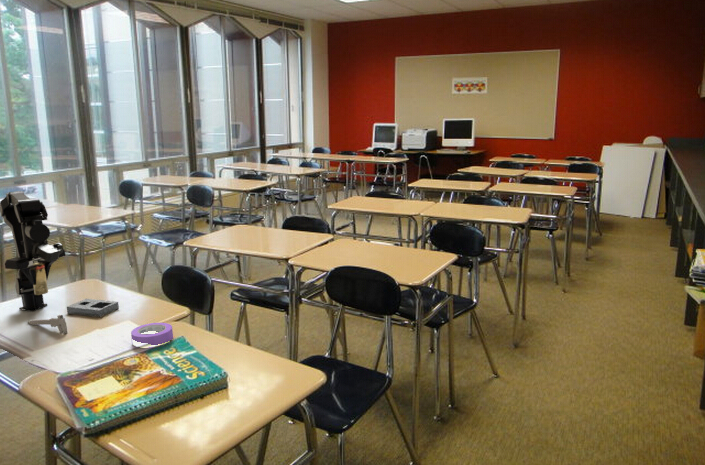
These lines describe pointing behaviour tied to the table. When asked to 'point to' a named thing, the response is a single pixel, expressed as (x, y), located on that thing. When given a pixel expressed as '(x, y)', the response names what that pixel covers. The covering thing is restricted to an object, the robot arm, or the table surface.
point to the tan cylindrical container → (40, 279)
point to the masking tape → (153, 339)
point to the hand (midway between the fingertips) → (39, 282)
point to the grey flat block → (92, 307)
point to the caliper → (52, 323)
